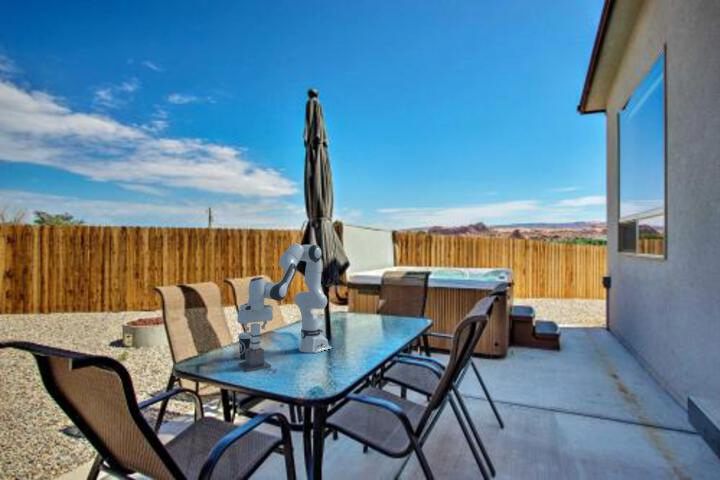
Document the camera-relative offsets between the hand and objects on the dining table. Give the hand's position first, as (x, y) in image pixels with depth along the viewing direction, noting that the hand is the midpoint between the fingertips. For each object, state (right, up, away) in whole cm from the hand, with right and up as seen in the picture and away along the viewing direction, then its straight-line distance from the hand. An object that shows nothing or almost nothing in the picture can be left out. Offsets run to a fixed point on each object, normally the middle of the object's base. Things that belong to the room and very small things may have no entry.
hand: (255, 329), depth 209 cm
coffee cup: (-11, -22, +15) cm, 29 cm away
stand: (0, -21, -1) cm, 21 cm away
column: (0, -13, 0) cm, 13 cm away
